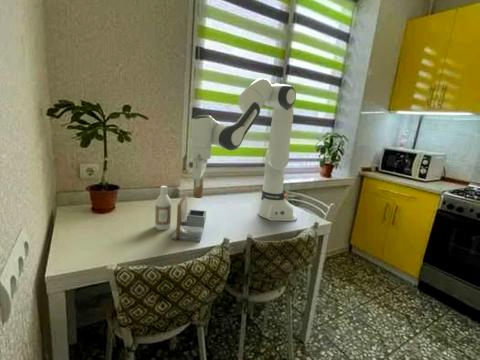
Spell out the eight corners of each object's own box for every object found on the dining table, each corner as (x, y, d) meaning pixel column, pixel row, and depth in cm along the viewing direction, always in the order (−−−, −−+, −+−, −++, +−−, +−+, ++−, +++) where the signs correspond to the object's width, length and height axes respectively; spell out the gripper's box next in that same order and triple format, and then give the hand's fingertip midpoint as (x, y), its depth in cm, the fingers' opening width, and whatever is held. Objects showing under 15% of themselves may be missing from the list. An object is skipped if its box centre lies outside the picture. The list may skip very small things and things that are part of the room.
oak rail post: (202, 195, 126) (204, 169, 123) (201, 198, 122) (203, 171, 119) (193, 195, 126) (195, 169, 123) (192, 197, 122) (194, 170, 119)
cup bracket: (205, 227, 136) (207, 195, 132) (201, 242, 121) (204, 207, 117) (179, 225, 136) (180, 193, 132) (172, 239, 120) (173, 204, 116)
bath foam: (154, 230, 128) (155, 188, 123) (155, 224, 134) (156, 184, 129) (170, 230, 129) (171, 188, 124) (170, 224, 136) (171, 184, 131)
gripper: (205, 158, 109) (203, 192, 113) (210, 150, 129) (208, 179, 133) (189, 156, 109) (187, 190, 113) (196, 149, 129) (194, 178, 132)
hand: (198, 184), depth 123 cm, fingers closed on oak rail post, 4 cm apart
